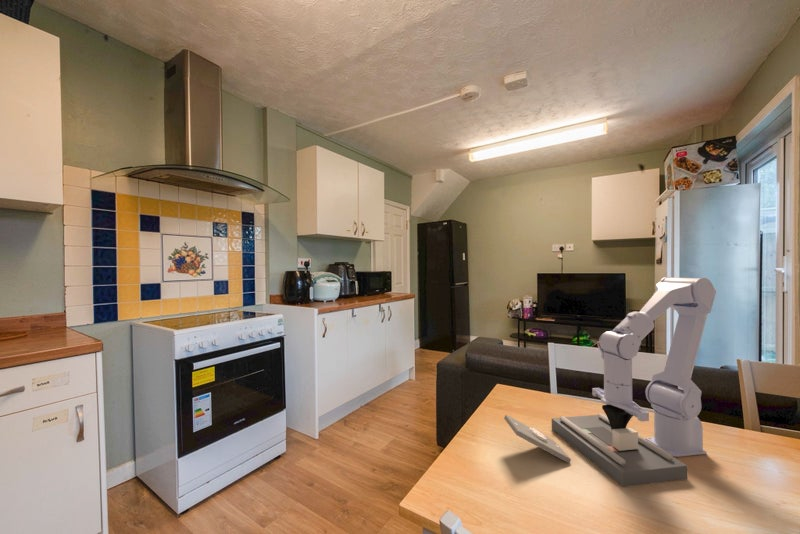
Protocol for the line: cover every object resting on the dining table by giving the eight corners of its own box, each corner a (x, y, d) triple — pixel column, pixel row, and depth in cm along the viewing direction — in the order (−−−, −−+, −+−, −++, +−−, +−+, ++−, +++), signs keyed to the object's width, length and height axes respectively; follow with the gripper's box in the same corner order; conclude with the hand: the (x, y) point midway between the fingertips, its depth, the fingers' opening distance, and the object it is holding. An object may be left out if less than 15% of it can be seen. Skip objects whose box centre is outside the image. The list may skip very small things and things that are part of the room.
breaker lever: (630, 444, 76) (630, 427, 76) (638, 448, 74) (637, 432, 74) (612, 445, 75) (612, 429, 75) (619, 450, 73) (619, 433, 73)
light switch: (573, 456, 74) (520, 427, 73) (561, 478, 74) (508, 449, 73) (554, 436, 82) (507, 411, 82) (544, 456, 82) (496, 430, 82)
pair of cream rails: (600, 416, 90) (600, 412, 90) (673, 460, 70) (673, 454, 70) (558, 420, 88) (558, 415, 88) (620, 466, 68) (620, 459, 68)
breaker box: (601, 424, 92) (601, 414, 92) (687, 479, 68) (687, 465, 68) (551, 428, 90) (551, 418, 90) (622, 486, 66) (622, 472, 66)
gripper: (581, 372, 83) (582, 423, 83) (629, 394, 69) (629, 455, 69) (605, 370, 84) (605, 421, 84) (656, 392, 70) (657, 452, 70)
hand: (618, 436), depth 77 cm, fingers closed
